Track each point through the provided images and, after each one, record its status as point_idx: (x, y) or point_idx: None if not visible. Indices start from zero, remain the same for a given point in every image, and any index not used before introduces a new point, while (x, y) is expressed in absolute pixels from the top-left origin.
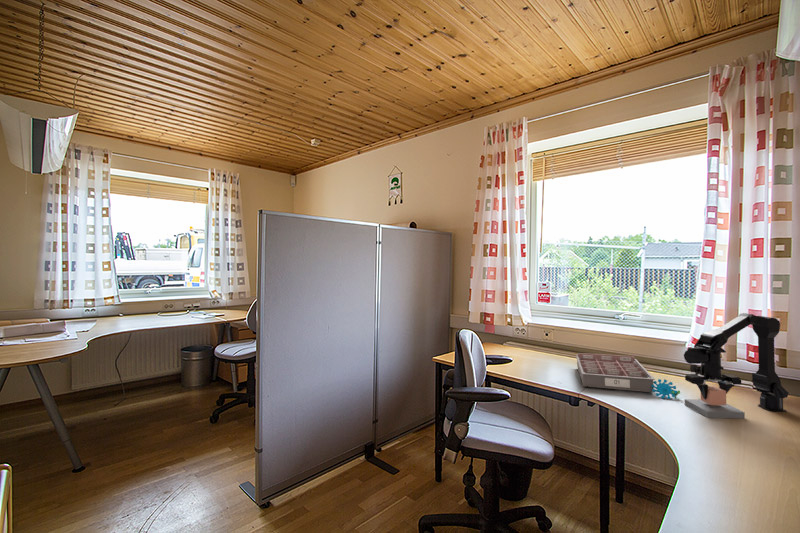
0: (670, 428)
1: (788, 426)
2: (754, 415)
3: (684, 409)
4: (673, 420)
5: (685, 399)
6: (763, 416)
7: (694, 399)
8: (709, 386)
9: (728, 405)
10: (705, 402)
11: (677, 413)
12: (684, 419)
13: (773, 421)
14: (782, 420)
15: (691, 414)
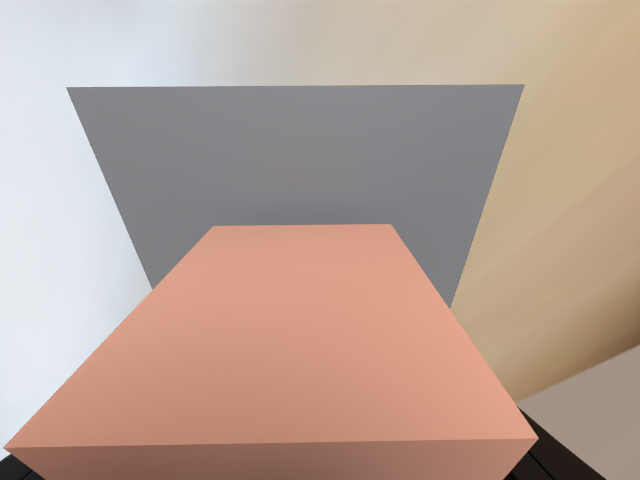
0: (2, 427)
1: (523, 390)
2: (523, 294)
3: (99, 221)
4: (13, 372)
5: (75, 101)
6: (560, 304)
7: (199, 91)
8: (313, 453)
9: (445, 267)
10: (281, 200)
11: (38, 293)
12: (72, 360)
13: (526, 354)
14: (591, 342)
15: (128, 302)
